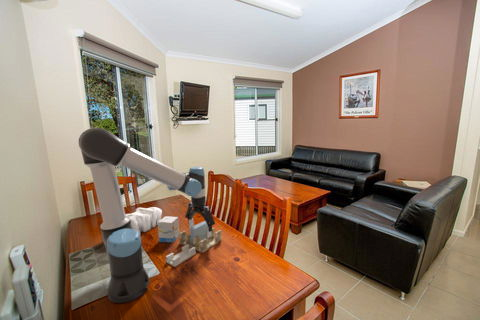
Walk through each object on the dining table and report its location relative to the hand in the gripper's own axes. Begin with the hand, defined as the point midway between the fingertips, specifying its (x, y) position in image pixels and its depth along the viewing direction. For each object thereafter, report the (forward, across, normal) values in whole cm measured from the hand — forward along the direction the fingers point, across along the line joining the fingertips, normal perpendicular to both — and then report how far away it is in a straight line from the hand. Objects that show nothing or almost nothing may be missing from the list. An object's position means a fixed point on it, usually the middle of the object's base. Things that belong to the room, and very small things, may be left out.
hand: (200, 233), depth 125 cm
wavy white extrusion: (+5, +45, +10) cm, 46 cm away
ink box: (+5, +18, +7) cm, 20 cm away
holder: (+5, -3, +16) cm, 17 cm away
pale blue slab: (+4, 0, 0) cm, 4 cm away
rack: (+5, 0, 0) cm, 5 cm away
